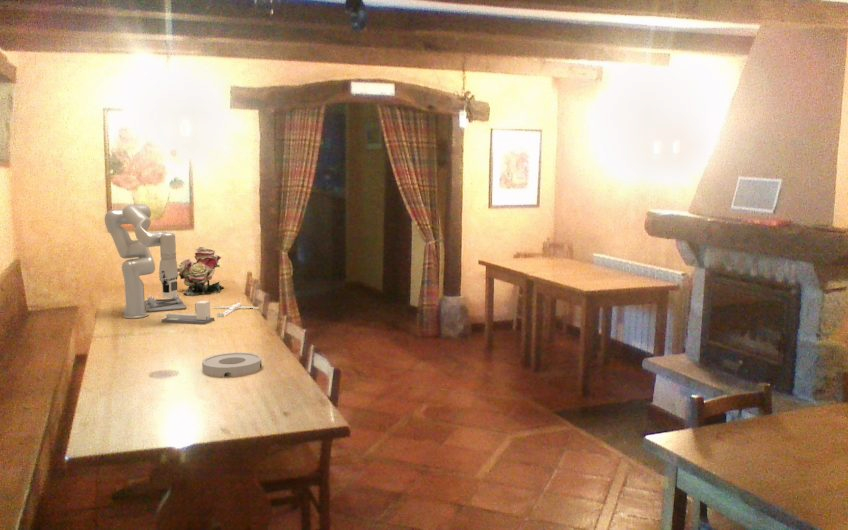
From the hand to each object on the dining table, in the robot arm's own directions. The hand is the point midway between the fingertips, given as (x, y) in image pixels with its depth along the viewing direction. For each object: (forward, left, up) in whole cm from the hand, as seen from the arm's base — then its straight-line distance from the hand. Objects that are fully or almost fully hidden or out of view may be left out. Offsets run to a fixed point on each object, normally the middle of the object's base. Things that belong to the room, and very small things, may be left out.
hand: (169, 291), depth 375 cm
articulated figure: (+16, +33, -18) cm, 41 cm away
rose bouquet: (-32, +87, -17) cm, 94 cm away
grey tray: (-30, +41, -18) cm, 53 cm away
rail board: (+6, +6, -17) cm, 19 cm away
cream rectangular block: (0, 0, -3) cm, 3 cm away
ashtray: (+72, -72, -18) cm, 104 cm away
